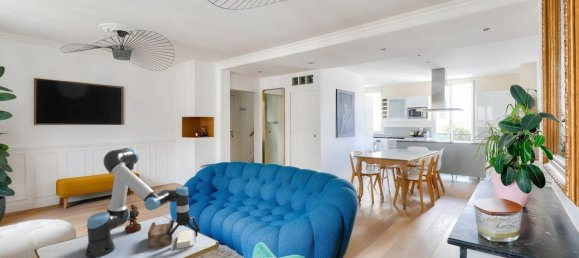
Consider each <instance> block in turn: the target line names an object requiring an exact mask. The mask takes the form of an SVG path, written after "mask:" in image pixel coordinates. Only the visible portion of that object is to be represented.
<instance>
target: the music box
mask: <svg viewBox="0 0 579 258" xmlns="http://www.w3.org/2000/svg"><path fill="white" fill-rule="evenodd" d="M130 209H131V210H129V211H130V217H129V219H128V221H127V222H129V224H127V225H126V226H125V227H124V233H126V234H134V233H138V232H140V231H141V230H142V225H141V223H139V222H137V220H138V218H137V217H139V215H140V211H139V209H138V206H137V205H135V204H134V203H132V204H130Z"/></svg>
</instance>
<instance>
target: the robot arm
mask: <svg viewBox="0 0 579 258" xmlns="http://www.w3.org/2000/svg"><path fill="white" fill-rule="evenodd" d="M139 156H140V155H139V153H138V152H137V151H136V149H134V148H133V147H124V148H121V149H114V150H110V151H108V152H106V154H105V155H104V156H103V166H104V168H105V170H106V171H107V172H108V173H109V174H111V175H112V176H114V179H113V184H112V185H113V186H112V191H111V201H110V204H109V205H108V206H107V207H106V211H101V212H98V213H94V214H92V215H91V216H90V217H89V216H88V218H87V222H86V223H87V224H86V227H87V229H86V230H87V241H88V242H87V245H86V249H85V253H84V254H85V257H86V256H87V258H99V257H103V256H106V255H108V254H110V253H112V252H114V250H115V249H116V248H115V243H114V241H113V238H112V235H111V231H113V230H114V229H116V228H118V227H120V226H122V225H124V224H125V223H127V222H129V221H128V219H129V220H130V218H129V217H130V210H129V207H128V206H127V205H126V202H127V194H128V189H130V190H131V191H132V192H134V193H135V195H137V196H138V197H139V198H140V199H141V200H142V201H144V207H145V209H146V210H148V211H154V210H157V209H158V208H160V207H162V206H165V204H167V203H176V204H175V205H176V208H175V209H176V210H175V211H176V219H174V218H172V219H171V220H172V223H171V225H170V227H169V229H168V232H167V235H169V236H170V241H171V240H172V244H171V246H172V247H173V246H174V234H175V231H176V230H177V229H178V228H179V227H182V226H188V227H189V228H190V229H191V230H192V231H193V232H194V233H193V235H194V238H193V239H194V243H196V242H197V237H198V232H200V231H201V227H200V225H199V224H198V222H197V220H196V219H195V216H191V217H190V204H189V188H188V187H187V186H178V187H176V188H175V189H160V190H159V191H158V192H155V191H154V190H153V189H152V188H151V187H150V186H149V185H147V183H145V182H144V181H143V180H142V179H141V178H140V177H139V176H137V175H136V174H135V173H134V172H133V170H134V168H135V164H137V163H138V161H139V159H140V157H139ZM190 221H191V222H193V224H194V225H193V224H192V223H191V222H190ZM175 223H177V224H176V225H175V226H174V224H175ZM172 226H173V230H172V231H171V233H170V230H171V228H172Z"/></svg>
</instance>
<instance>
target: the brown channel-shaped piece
mask: <svg viewBox="0 0 579 258" xmlns="http://www.w3.org/2000/svg"><path fill="white" fill-rule="evenodd" d="M171 223H172V219H170V220H169V222H167V223H161V224H156V222H151V224H150V227H149V228H148V232H147V243H148V249H152V248H157V247H158V248H159V247H165V246H172V240H171V241H170V236H169V235H167V232H168V229H169V227H170V225H171ZM173 229H174V225H173V226H172V228H171V230H170V233H171V231H172V230H173Z"/></svg>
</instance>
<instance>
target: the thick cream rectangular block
mask: <svg viewBox="0 0 579 258" xmlns="http://www.w3.org/2000/svg"><path fill="white" fill-rule="evenodd" d="M178 233H179V234H178V236H177V240H176V249H182V248H189V247H191V243H192V239H193V229H189V230H182V231H179V232H178ZM191 238H192V239H191Z"/></svg>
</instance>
